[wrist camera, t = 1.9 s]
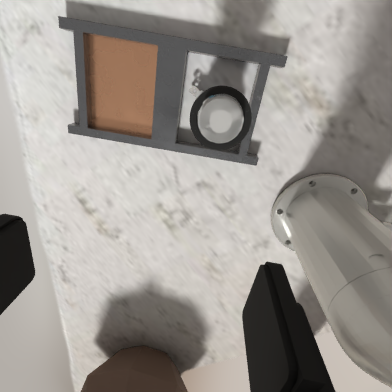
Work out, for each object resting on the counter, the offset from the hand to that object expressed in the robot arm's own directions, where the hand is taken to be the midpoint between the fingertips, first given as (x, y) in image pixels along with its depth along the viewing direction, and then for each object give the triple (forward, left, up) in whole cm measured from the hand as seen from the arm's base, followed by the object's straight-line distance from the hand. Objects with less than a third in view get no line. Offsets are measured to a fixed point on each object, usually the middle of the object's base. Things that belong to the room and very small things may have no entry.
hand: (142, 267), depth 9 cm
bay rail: (+4, -5, -23) cm, 24 cm away
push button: (-2, -5, -23) cm, 24 cm away
